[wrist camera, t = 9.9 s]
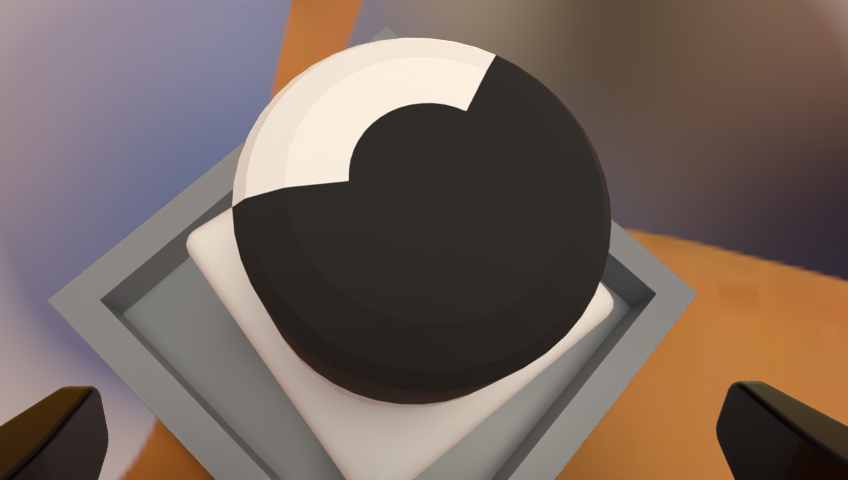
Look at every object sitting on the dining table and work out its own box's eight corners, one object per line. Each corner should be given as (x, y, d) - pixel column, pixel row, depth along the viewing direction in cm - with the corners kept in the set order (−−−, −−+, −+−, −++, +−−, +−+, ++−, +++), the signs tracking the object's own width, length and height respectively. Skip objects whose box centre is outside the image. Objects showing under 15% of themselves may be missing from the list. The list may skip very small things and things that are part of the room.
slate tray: (395, 649, 18) (401, 678, 16) (82, 318, 20) (47, 300, 18) (661, 310, 22) (697, 293, 20) (383, 68, 24) (386, 26, 22)
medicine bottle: (536, 351, 21) (759, 229, 9) (364, 494, 19) (384, 556, 7) (407, 192, 22) (467, -83, 11) (234, 308, 20) (83, 120, 9)
